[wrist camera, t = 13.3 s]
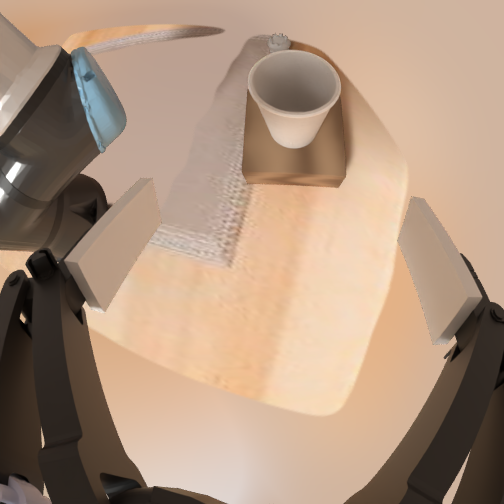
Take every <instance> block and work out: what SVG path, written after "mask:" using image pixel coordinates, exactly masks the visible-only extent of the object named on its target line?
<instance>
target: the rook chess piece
mask: <svg viewBox="0 0 504 504" xmlns="http://www.w3.org/2000/svg"><path fill="white" fill-rule="evenodd" d="M290 45H291V42H290V40H289V39H288V37H287V36H283V34H279V36H276V34H273V37H271V36H270V38H269V40H268V42H267V46H268V47H269V48H270V49H269V50H270V53H274V52H277V51H282V50H289V47H290Z"/></svg>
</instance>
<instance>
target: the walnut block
mask: <svg viewBox="0 0 504 504" xmlns="http://www.w3.org/2000/svg"><path fill="white" fill-rule="evenodd" d="M242 173H243V175H244V177H245V179H246V182H247V184H277V185H302V186H320V187H335V188H338V187H339V186H340V184H341V183H342V182H343V180H344V179H345V177H346V164H345V145H344V131H343V119H342V108H341V99H340V96H339V98H338V100H337V101H336V103H335V104H334V105H333V106H332V107H331V108H330V110H329V112H328V113H327V115H326V117H325V119H324V121H323V123H322V125H321V127H320V128H319V130H318V132H317V134H316V136H315V138H314V139H313V141H312V142H311V143H310V144H308V145H306V146H304V147H302V148H287V147H284V146H282V145H280V144H278V143H277V142H276V141H275V140H274V139H273V137H272V136H271V133H270V131H269V129H268V126H267V124H266V122H265V120H264V117H263V115H262V113H261V111H260V108H259V106H258V104H257V102H256V101H255V100H254V99H253V97H252V96H251V94H250V92H249V89H248V91H247V104H246V118H245V132H244V146H243V161H242Z"/></svg>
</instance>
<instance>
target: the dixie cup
mask: <svg viewBox="0 0 504 504" xmlns="http://www.w3.org/2000/svg"><path fill="white" fill-rule="evenodd" d="M248 89H249V92H250V94H251V96H252V97H253V99H254V100H255V101H256V102H257V104H258V106H259V108H260V111H261V113H262V115H263V117H264V120H265V122H266V124H267V126H268V129H269V131H270V133H271V136H272V137H273V139H274V140H275V141H276V142H277V143H278V144H280V145H282V146H284V147H287V148H302V147H304V146H306V145H308V144H310V143H311V142H312V141H313V139H314V138H315V136H316V134H317V132H318V130H319V128H320V127H321V125H322V123H323V121H324V119H325V117H326V115H327V113H328V112H329V110H330V108H331V107H332V106H333V105H334V104H335V103H336V101H337V100H338V98H339V96H340V92H341V82H340V78H339V76H338V74H337V72H336V70H335V69H334V68H333V67H332V65H331V64H329V63H328V62H327V61H326V60H324V59H323V58H321V57H319V56H317V55H315V54H313V53H310V52H306V51H301V50H282V51H277V52H274V53H271V54H269V55H266V56H265V57H263V58H261V59H260V60H259V61H258V62H257V63H256V64H255V65H254V66H253V67H252V69H251V71H250V73H249V76H248Z"/></svg>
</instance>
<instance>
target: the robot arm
mask: <svg viewBox="0 0 504 504" xmlns="http://www.w3.org/2000/svg"><path fill="white" fill-rule="evenodd" d="M125 126H126V114H125V111H124V109H123V106H122V105H121V102H120V100H119V99H118V97H117V95H116V93H115V91H114V89H113V88H112V86H111V84H110V83H109V81H108V79H107V77H106V76H105V74H104V73H103V71H102V69H101V68H100V66H99V65H98V64H97V62H96V60H95V59H94V58H93V56H92V55H91V54H90V53H89V52H88V51H87V49H86V48H84V47H80V48H78V49H74V50H73V51H72V52H71V54H68V53H67V52H66V51H65V50H64V49H63V48H62V47H61V46H59V45H51V46H45V47H38V46H36V45H35V44H34V43H32V42H31V41H30V40H29V39H28V38H27V37H26V36H25V35H24V34H23V33H22V32H20V31H19V30H18V29H17V28H16V27H15V26H14V25H13V24H12V23H11V22H10V21H9V20H7V19H6V18H5V17H4V16H3V15H2V14H1V13H0V250H9V251H29V252H34V253H33V254H32V255H31V256H30V257H29V258H28V260H27V262H26V264H25V265H26V267H27V268H28V270H29V272H30V273H31V275H32V277H33V278H28V277H27V275H26V274H25V272H24V271H23V270H17V271H14V272H13V273H11V274H10V275H9V277H8V278H7V279H6V281H5V283H4V285H3V288H2V290H1V293H0V504H227V503H224V502H221V501H219V500H217V499H214V498H212V497H210V496H208V495H203V494H199V493H195V492H191V491H187V490H183V489H179V488H168V487H158V486H154V487H147V485H146V483H145V481H144V479H143V477H142V475H141V473H140V471H139V470H138V468H137V467H136V465H135V464H134V463H133V462H132V461H131V460H130V459H129V457H128V456H127V454H126V453H125V450H124V448H123V446H122V443H121V441H120V438H119V436H118V433H117V431H116V428H115V425H114V422H113V420H112V417H111V414H110V411H109V408H108V405H107V402H106V399H105V396H104V392H103V389H102V386H101V382H100V378H99V375H98V371H97V367H96V363H95V359H94V355H93V350H92V346H91V341H90V336H89V331H88V326H87V320H86V314H85V310H84V308H83V307H82V305H83V304H84V302H85V301H86V302H87V303H88V305H89V307H90V308H91V310H95V311H99V312H102V313H105V312H106V310H107V308H108V306H109V305H110V303H111V301H112V299H113V298H114V296H115V294H116V293H117V291H118V289H119V287H120V286H121V284H122V282H123V281H124V279H125V278H126V276H127V274H128V273H129V271H130V269H131V268H132V266H133V265H134V263H135V262H136V260H137V258H138V257H139V255H140V254H141V252H142V251H143V249H144V248H145V246H146V245H147V243H148V242H149V240H150V239H151V237H152V236H153V234H154V233H155V231H156V230H157V228H158V227H159V226H160V224H161V223H162V221H161V216H160V212H159V207H158V202H157V198H156V193H155V188H154V183H153V178H141V179H139V180H138V181H137V182H136V183H135V184H134V185H133V186H132V187H131V188H130V189H129V190H128V191H127V192H126V193H125V194H124V195H123V196H122V197H121V198H120V199H119V200H118V201H117V202H116V203H115V204H114V205H113V206H112V207H111V208H110V209H109V210H108V208H107V200H106V196H105V193H104V191H103V189H102V187H101V185H100V184H99V183H98V182H97V181H96V180H95V179H93V178H90V177H88V176H86V175H84V174H79V173H80V172H81V171H82V170H83V169H84V168H85V167H86V166H87V165H88V164H89V163H90V162H91V161H92V160H93V159H94V158H95V157H96V156H98V155H99V154H100V153H103V152H105V149H106V147H107V146H108V145H109V144H110V143H111V142H113V140H115V139H116V138H117V137H118V136H119V135H120V134H121V133H122V132H123V130H124V128H125ZM397 241H398V243H399V246H400V248H401V251H402V253H403V256H404V258H405V261H406V263H407V266H408V268H409V271H410V274H411V276H412V279H413V282H414V285H415V288H416V290H417V293H418V296H419V299H420V302H421V306H422V309H423V312H424V315H425V318H426V321H427V325H428V329H429V332H430V336H431V340H432V343H433V345H440V344H448V342H449V341H450V340H451V339H452V338H453V336H454V335H455V337H456V340H457V343H456V344H455V345H454V346H453V347H452V349H451V350H450V351H449V352H448V353H447V354H446V355H445V356H444V359H446V358H447V357H448V356H449V357H448V359H447V362H446V364H445V366H444V368H443V370H442V372H441V375H440V377H439V378H438V380H437V383H436V384H435V386H434V388H433V390H432V392H431V394H430V396H429V398H428V399H427V401H426V403H425V405H424V406H423V408H422V410H421V412H420V413H419V415H418V417H417V418H416V420H415V421H414V423H413V424H412V426H411V428H410V429H409V431H408V432H407V434H406V435H405V437H404V438H403V440H402V441H401V443H400V444H399V445H398V447H397V448H396V449H395V451H394V452H393V453H392V455H391V456H390V457H389V459H388V460H387V461H386V463H385V464H384V465H383V466H382V468H381V469H380V470H379V471H378V473H377V474H376V475H375V477H373V479H372V480H371V481H370V482H369V483H368V484H367V485H366V486H365V487H364V488H363V489H362V490H360V491H358V492H357V493H355V494H354V495H353V496H352V497H350V498H349V499H348V500H347V501H346V502H345V503H344V504H442V501H443V498H444V496H445V495H446V493H447V491H448V490H449V488H450V486H451V485H452V483H453V481H454V480H455V478H456V476H457V474H458V473H459V471H460V469H461V467H462V465H463V463H464V462H465V459H466V458H467V456H468V454H469V452H470V454H469V457H468V461H467V464H466V467H465V470H464V473H463V476H462V479H461V481H460V484H459V487H458V489H457V492H456V494H455V497H454V499H453V502H452V504H504V310H503V308H502V307H501V306H500V305H498V304H496V303H494V302H490V301H489V299H488V296H487V294H486V292H485V290H484V288H483V286H482V284H481V282H480V280H479V279H478V277H477V275H476V273H475V272H474V269H473V267H472V265H471V263H470V262H469V261H468V260H467V259H466V257H465V256H464V255H463V254H461V253H459V252H458V250H457V248H456V246H455V245H454V243H453V242H452V240H451V238H450V236H449V235H448V233H447V232H446V230H445V229H444V227H443V226H442V224H441V222H440V221H439V220H438V218H437V217H436V215H435V214H434V212H433V211H432V209H431V208H430V207H429V205H428V204H427V202H426V201H425V199H423V198H417V197H411V200H410V203H409V207H408V210H407V213H406V216H405V219H404V222H403V225H402V229H401V231H400V234H399V237H398V240H397ZM57 262H59V263H57ZM21 313H22V314H23V316H24V317H25V318H26V321H25V323H23V322H22V321H21V320H20V314H21ZM41 427H42V431H43V436H44V441H45V445H44V447H43V448H42V442H41ZM470 450H471V451H470ZM44 483H45V486H46V488H47V492H48V494H49V497H50V499H49V498H47V497H46V496H43V490H44ZM106 494H107V495H106ZM107 496H108V497H109V499H108V497H107ZM50 500H51V501H50Z"/></svg>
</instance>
